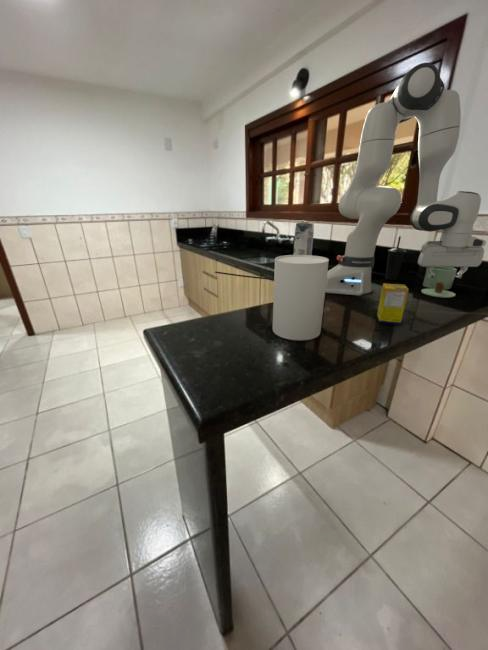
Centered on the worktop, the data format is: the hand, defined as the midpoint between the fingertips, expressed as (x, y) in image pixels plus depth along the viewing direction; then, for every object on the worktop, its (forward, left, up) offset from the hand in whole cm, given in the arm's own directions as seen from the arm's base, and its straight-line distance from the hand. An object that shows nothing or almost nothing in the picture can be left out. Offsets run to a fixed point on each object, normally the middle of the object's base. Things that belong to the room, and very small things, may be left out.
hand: (443, 278), depth 101 cm
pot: (+4, +12, -7) cm, 15 cm away
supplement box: (-29, -31, -7) cm, 43 cm away
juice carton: (-53, +37, -7) cm, 65 cm away
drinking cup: (-10, +26, -7) cm, 29 cm away
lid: (-1, 0, -6) cm, 6 cm away
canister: (-57, -42, -7) cm, 71 cm away
